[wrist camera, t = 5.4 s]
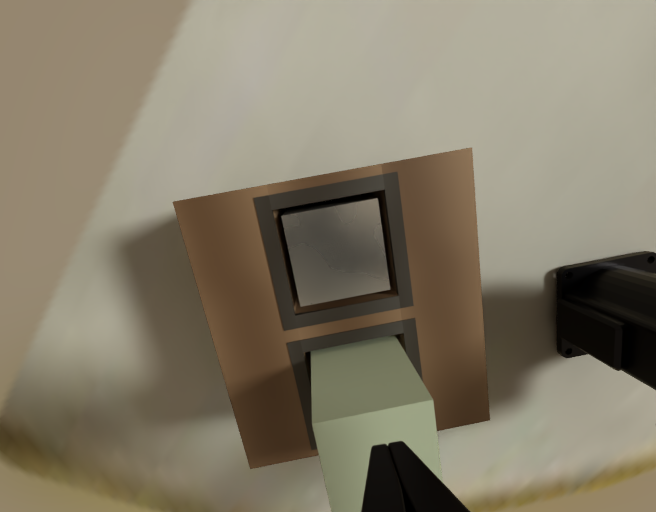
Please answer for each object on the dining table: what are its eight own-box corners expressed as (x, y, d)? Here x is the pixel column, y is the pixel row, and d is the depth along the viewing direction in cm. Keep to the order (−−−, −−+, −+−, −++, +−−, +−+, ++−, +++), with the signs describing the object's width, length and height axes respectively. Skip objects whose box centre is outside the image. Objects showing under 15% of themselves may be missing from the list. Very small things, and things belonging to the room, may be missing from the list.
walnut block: (418, 160, 18) (472, 147, 12) (439, 355, 21) (490, 421, 15) (217, 197, 18) (172, 201, 12) (266, 389, 21) (250, 470, 15)
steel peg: (355, 194, 18) (377, 198, 12) (365, 259, 19) (390, 289, 13) (289, 207, 18) (281, 216, 12) (302, 271, 19) (300, 306, 13)
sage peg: (387, 322, 15) (433, 399, 10) (397, 389, 16) (444, 495, 11) (310, 337, 15) (312, 424, 10) (324, 404, 16) (333, 518, 11)
